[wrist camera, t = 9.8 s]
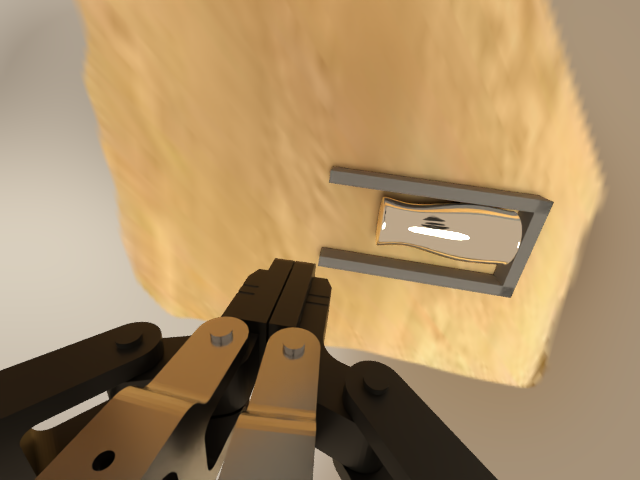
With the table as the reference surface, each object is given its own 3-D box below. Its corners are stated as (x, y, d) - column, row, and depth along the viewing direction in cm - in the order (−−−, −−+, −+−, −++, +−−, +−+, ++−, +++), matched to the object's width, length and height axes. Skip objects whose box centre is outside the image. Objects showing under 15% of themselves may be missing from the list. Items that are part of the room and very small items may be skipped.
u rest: (332, 166, 38) (330, 170, 35) (539, 195, 36) (553, 202, 33) (320, 256, 43) (318, 265, 40) (500, 285, 41) (510, 297, 38)
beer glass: (374, 239, 41) (486, 255, 39) (376, 256, 34) (511, 276, 33) (382, 189, 39) (501, 204, 37) (386, 197, 32) (531, 215, 31)
